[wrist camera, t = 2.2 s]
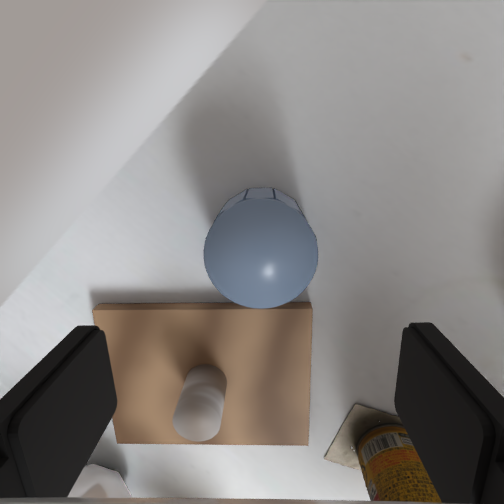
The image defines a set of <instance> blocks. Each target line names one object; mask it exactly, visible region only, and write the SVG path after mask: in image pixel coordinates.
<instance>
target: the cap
mask: <svg viewBox="0 0 504 504" xmlns="http://www.w3.org/2000/svg"><path fill="white" fill-rule="evenodd" d="M316 241H317V239H316V236H315V234H314V233H313V231H312V229H311V227H310V226H309V224H308V222H307V220H306V219H305V217H304V215H303V213H302V212H301V210H300V208H299V206H298V205H297V203H296V201H294V199H292V198H291V197H289V196H287V195H285V194H283V193H282V192H280V191H278V190H276V189H275V188H274V189H273V191H272V188H249V190H248V189H246V190H244V191H243V192H241V193H240V194H238V195H236V196H235V197H233V198H232V199H230V200H228V202H227V203H226V204H225V205H224V207H223V208H222V210H221V211H220V213H219V214H218V215H217V217H216V219H215V221H214V223H213V225H212V227H211V228H210V230H209V232H208V235H207V237H206V240H205V245H204V263H205V267H206V271H207V273H208V276H209V278H210V280H211V281H212V283H213V285H214V286H215V287H216V288H217V290H218V291H219V292H220V293H221V294H223V295H224V296H225V297H226V298H228V299H229V300H231V301H233V302H235V303H237V304H239V305H242V306H245V307H250V308H258V309H264V308H272V307H277V306H280V305H283V304H285V303H287V302H289V301H291V300H293V299H294V298H296V297H297V296H298V295H299V294H301V293H302V292H303V291H304V290H305V288H306V287H307V286H308V284H309V283H310V281H311V280H312V278H313V276H314V273H315V271H316V267H317V262H318V247H317V242H316Z"/></svg>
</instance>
